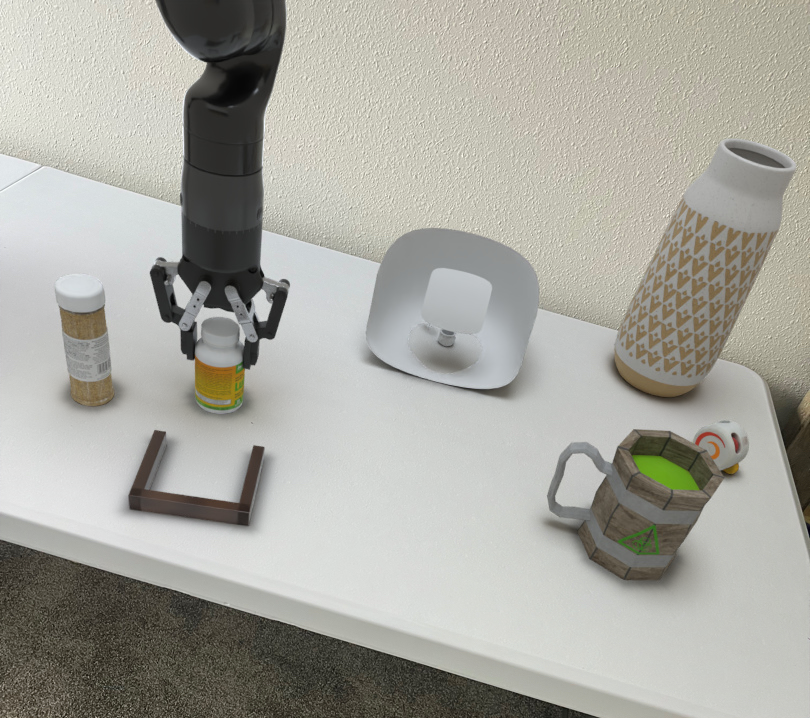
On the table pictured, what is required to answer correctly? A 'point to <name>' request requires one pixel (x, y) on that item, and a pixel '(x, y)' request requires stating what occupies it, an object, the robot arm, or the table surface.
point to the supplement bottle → (219, 366)
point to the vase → (703, 269)
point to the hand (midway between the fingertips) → (219, 360)
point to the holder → (191, 505)
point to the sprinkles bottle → (85, 338)
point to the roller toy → (724, 444)
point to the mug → (641, 501)
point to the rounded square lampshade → (454, 303)
